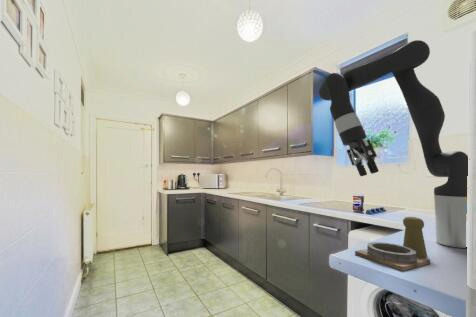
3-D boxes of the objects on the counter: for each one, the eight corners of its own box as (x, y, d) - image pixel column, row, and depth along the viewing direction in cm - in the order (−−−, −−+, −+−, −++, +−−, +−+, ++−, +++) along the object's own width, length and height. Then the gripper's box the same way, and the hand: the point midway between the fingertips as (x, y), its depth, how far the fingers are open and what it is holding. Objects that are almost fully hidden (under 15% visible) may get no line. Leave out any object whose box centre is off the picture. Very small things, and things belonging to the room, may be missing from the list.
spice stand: (382, 249, 73) (381, 239, 74) (430, 263, 62) (429, 252, 62) (355, 254, 68) (354, 244, 68) (402, 271, 56) (402, 258, 56)
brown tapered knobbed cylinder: (403, 249, 74) (401, 214, 75) (427, 253, 70) (425, 217, 71) (401, 253, 69) (400, 217, 70) (427, 258, 66) (425, 219, 67)
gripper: (369, 118, 70) (392, 168, 67) (353, 131, 84) (371, 173, 81) (345, 126, 71) (366, 175, 67) (333, 138, 85) (350, 179, 81)
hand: (369, 174), depth 74 cm, fingers open, 8 cm apart
